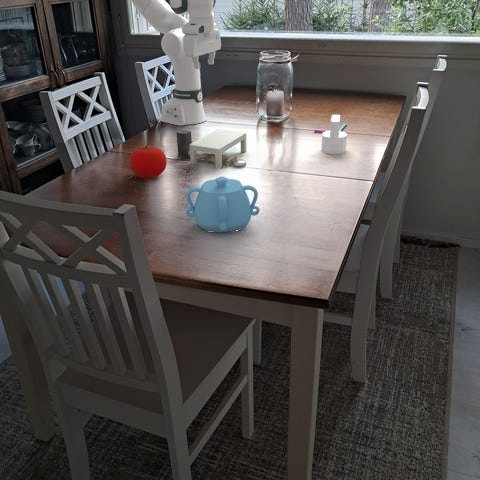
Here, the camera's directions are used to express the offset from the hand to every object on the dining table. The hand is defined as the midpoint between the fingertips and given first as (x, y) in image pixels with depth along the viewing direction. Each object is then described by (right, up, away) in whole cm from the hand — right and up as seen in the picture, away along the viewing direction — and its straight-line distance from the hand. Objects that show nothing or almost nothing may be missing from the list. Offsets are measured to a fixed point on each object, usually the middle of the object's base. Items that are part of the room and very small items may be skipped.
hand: (204, 66), depth 188 cm
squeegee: (+48, -21, +21) cm, 57 cm away
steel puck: (+13, -37, -7) cm, 40 cm away
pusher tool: (+1, -34, -2) cm, 34 cm away
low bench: (+5, -33, 0) cm, 34 cm away
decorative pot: (+8, -60, -47) cm, 76 cm away
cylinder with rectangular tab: (+48, -30, +4) cm, 57 cm away
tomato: (-17, -42, -15) cm, 48 cm away
